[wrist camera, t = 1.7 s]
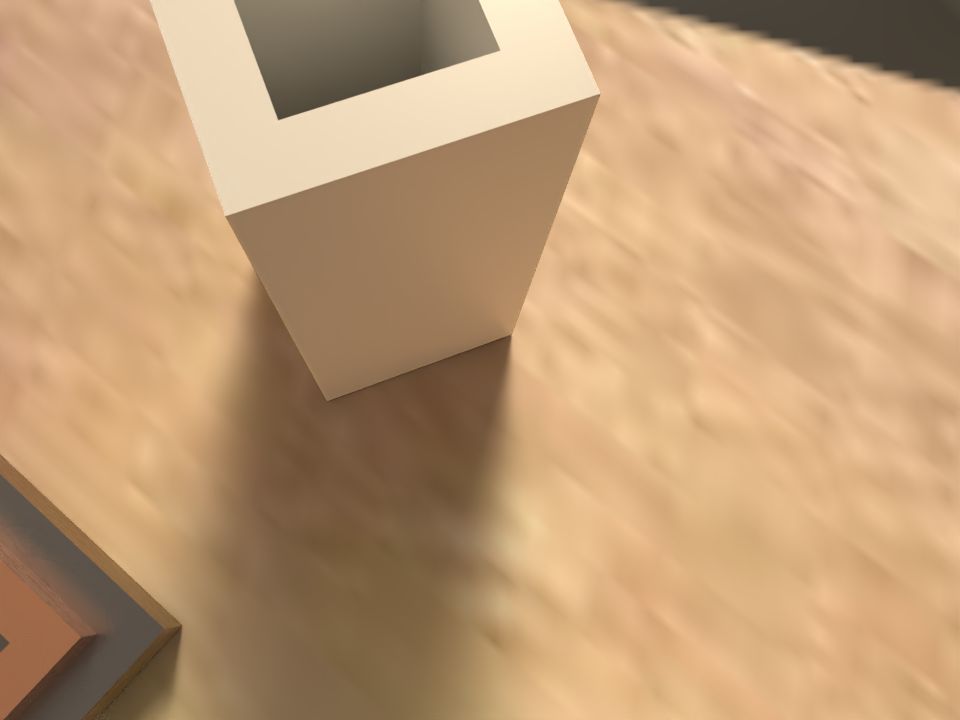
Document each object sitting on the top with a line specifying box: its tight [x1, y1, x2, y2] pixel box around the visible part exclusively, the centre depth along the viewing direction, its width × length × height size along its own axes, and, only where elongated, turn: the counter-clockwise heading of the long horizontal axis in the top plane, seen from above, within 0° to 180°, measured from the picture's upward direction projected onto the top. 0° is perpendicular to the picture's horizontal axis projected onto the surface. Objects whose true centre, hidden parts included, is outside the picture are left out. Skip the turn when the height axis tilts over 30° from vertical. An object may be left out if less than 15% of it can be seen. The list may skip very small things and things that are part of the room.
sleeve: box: [150, 0, 601, 401], centre depth 18 cm, size 5×5×12 cm
